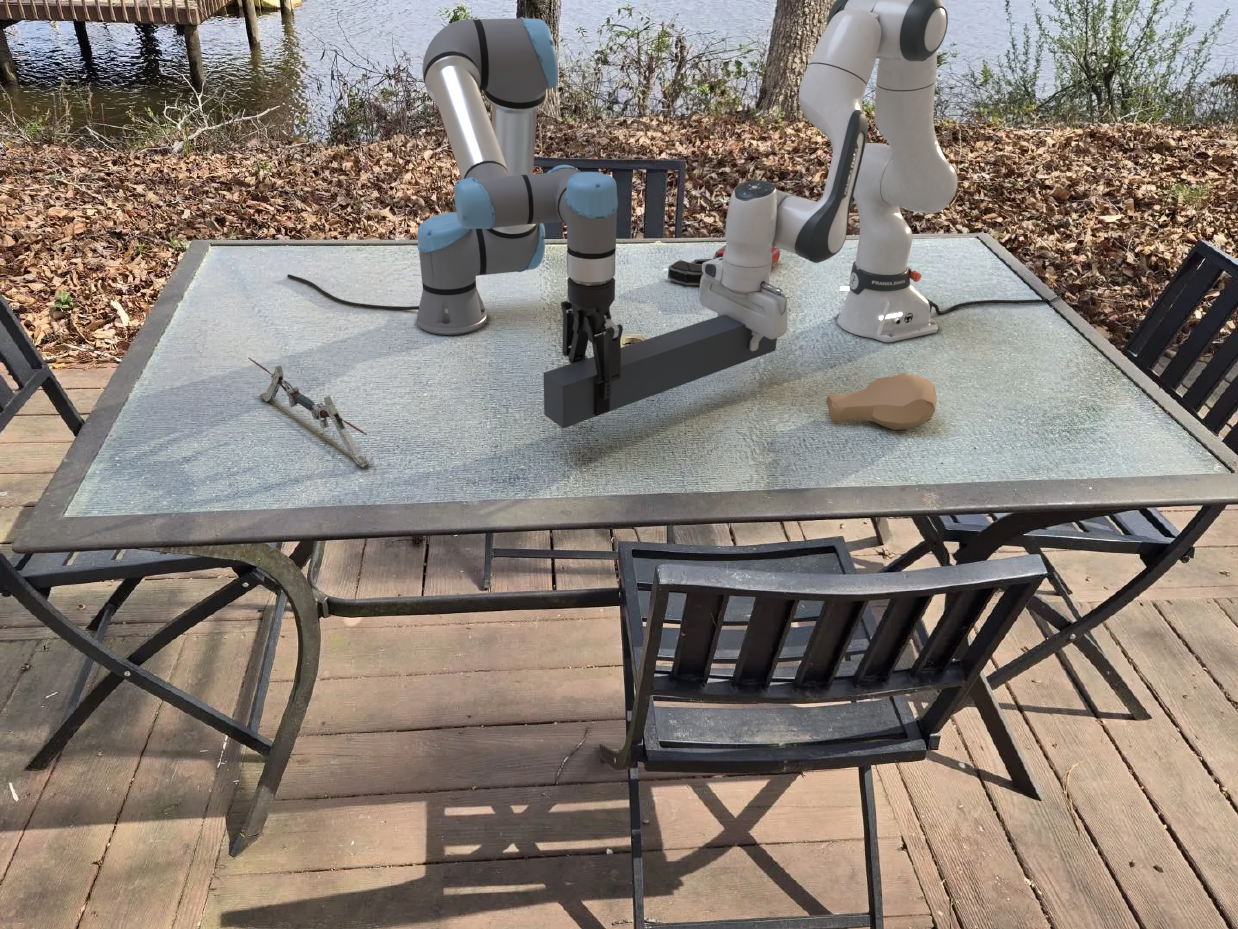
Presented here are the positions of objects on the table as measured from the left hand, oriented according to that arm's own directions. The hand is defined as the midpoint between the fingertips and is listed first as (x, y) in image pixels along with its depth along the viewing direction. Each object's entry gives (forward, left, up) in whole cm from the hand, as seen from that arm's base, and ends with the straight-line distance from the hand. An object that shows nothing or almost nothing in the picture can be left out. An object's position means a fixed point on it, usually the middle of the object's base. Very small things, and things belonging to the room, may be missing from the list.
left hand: (590, 404), depth 150 cm
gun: (-37, +82, -9) cm, 90 cm away
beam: (+2, +17, -1) cm, 18 cm away
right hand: (+4, +35, +2) cm, 35 cm away
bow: (-37, -33, -9) cm, 51 cm away
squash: (+30, +47, -9) cm, 56 cm away
